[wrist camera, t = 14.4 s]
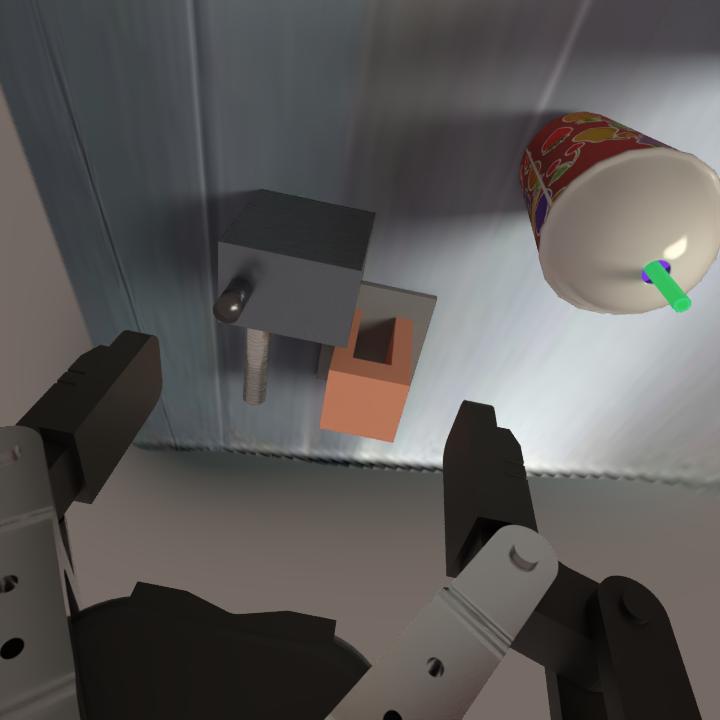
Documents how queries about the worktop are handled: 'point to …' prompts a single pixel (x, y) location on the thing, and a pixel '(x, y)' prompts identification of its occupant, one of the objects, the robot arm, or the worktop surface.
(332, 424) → the notched orange block
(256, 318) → the vise block
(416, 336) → the mat
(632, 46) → the worktop surface
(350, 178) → the worktop surface
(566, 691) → the robot arm
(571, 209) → the smoothie
